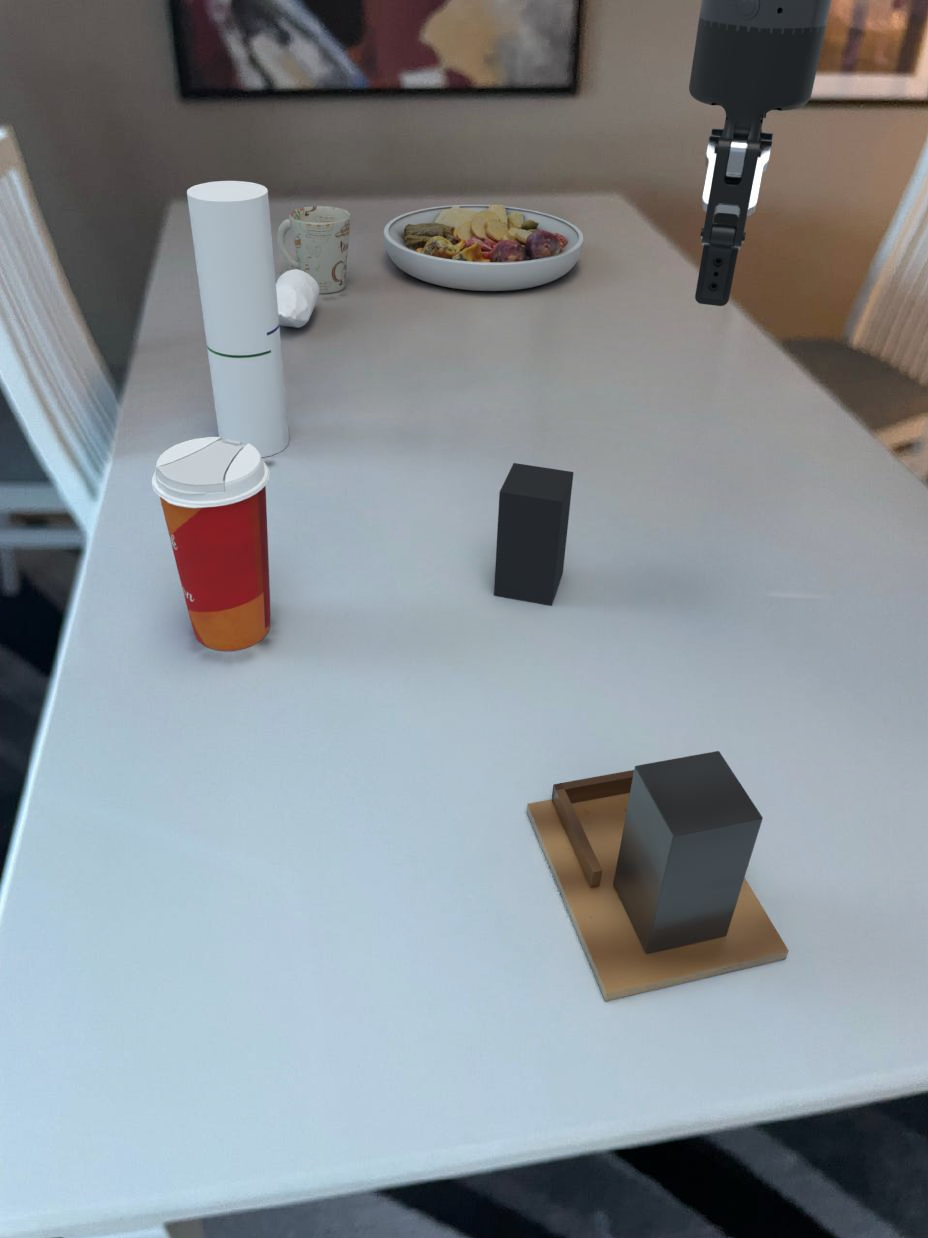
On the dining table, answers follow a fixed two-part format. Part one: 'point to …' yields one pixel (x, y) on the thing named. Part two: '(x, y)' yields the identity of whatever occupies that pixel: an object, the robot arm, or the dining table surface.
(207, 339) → the cylindrical container
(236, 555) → the coffee cup
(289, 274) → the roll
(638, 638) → the dining table surface
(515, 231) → the bowl
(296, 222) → the mug
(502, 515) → the black rectangular block
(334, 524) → the dining table surface
